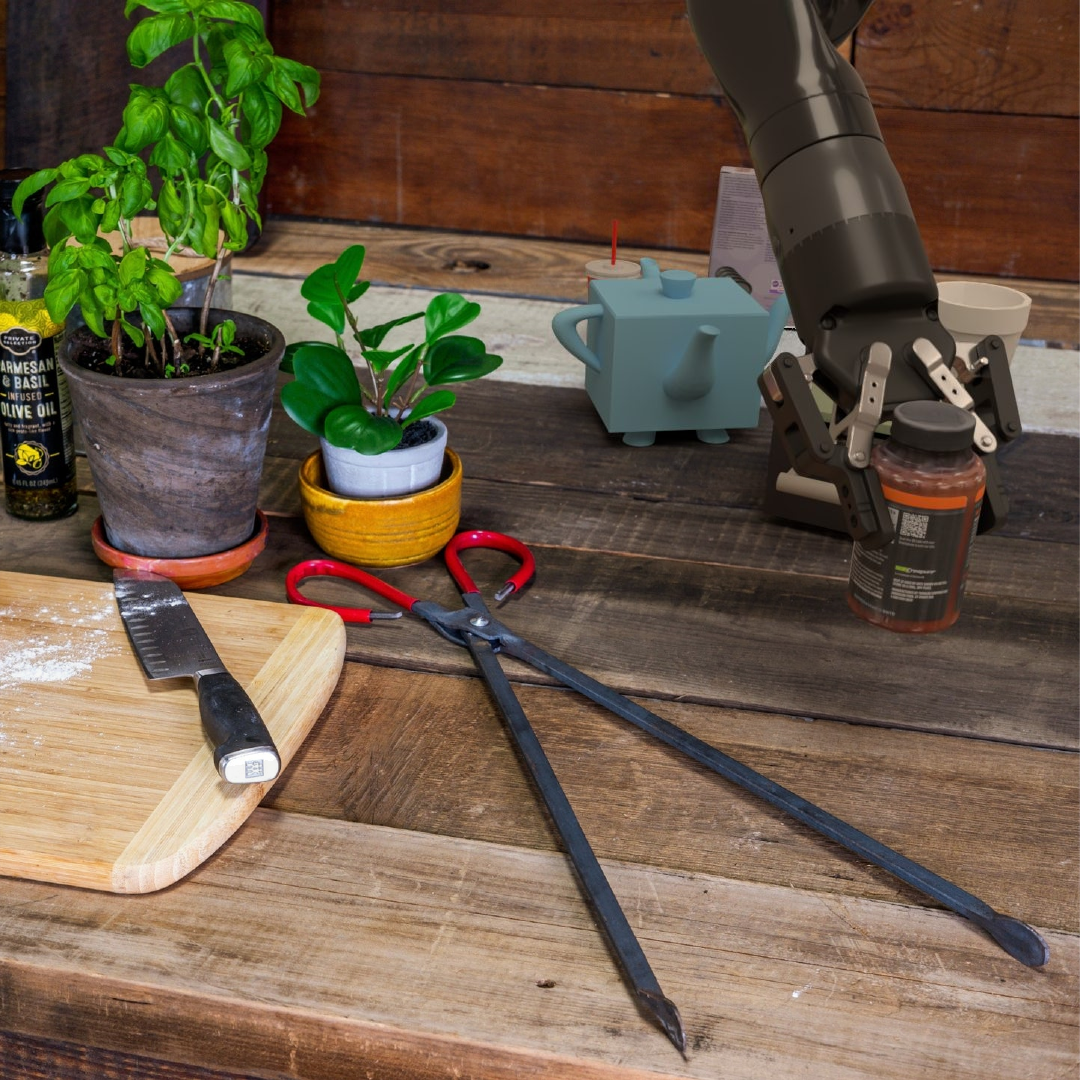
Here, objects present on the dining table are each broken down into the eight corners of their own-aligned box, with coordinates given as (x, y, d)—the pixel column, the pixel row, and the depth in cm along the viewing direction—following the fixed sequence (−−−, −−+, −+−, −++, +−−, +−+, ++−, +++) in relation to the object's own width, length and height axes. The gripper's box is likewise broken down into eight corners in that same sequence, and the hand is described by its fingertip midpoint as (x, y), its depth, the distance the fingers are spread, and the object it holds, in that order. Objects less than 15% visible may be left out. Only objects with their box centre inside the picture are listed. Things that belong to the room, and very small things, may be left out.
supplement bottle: (928, 581, 70) (965, 390, 65) (978, 636, 65) (1023, 434, 60) (827, 587, 69) (856, 393, 64) (869, 644, 64) (906, 438, 59)
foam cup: (931, 447, 117) (955, 311, 111) (886, 411, 125) (907, 282, 119) (1023, 441, 119) (1052, 307, 113) (973, 407, 127) (998, 280, 121)
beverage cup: (616, 358, 137) (623, 229, 131) (570, 346, 140) (575, 220, 134) (646, 344, 142) (654, 219, 135) (602, 333, 145) (608, 211, 139)
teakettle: (533, 430, 118) (537, 275, 111) (638, 377, 132) (647, 237, 125) (711, 482, 108) (727, 316, 102) (804, 419, 122) (823, 270, 115)
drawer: (887, 571, 92) (904, 475, 89) (741, 535, 97) (752, 441, 94) (943, 485, 107) (960, 398, 103) (814, 456, 112) (825, 373, 108)
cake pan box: (864, 324, 151) (886, 173, 143) (866, 336, 147) (889, 182, 139) (704, 312, 154) (717, 163, 146) (701, 323, 149) (715, 171, 141)
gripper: (755, 213, 62) (847, 531, 58) (998, 201, 67) (1101, 496, 62) (699, 288, 69) (778, 579, 65) (922, 273, 73) (1011, 544, 69)
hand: (936, 537), depth 63 cm, fingers closed on supplement bottle, 6 cm apart
